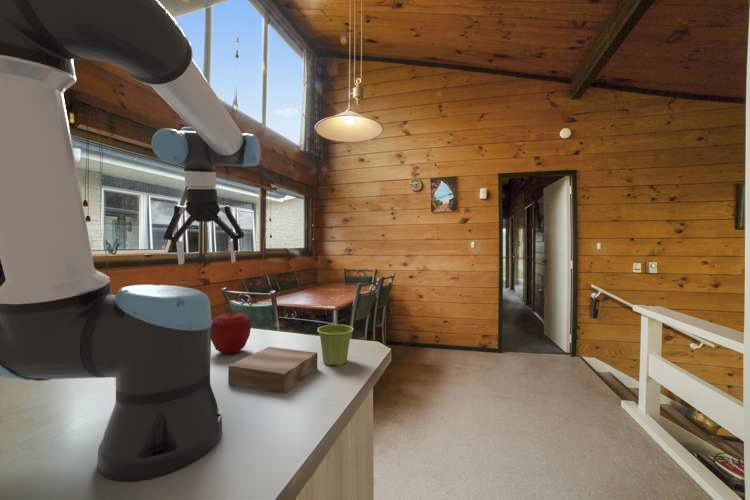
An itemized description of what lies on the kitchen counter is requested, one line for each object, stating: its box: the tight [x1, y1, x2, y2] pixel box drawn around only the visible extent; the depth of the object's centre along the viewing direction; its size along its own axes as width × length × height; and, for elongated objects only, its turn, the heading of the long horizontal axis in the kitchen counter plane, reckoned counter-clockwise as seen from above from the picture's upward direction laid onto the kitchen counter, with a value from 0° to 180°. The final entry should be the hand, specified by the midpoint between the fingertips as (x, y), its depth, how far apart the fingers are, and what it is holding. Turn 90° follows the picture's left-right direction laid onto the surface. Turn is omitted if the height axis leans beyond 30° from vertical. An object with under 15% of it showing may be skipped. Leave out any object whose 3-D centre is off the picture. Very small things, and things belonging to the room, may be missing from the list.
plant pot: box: [316, 324, 354, 366], centre depth 82 cm, size 9×9×9 cm
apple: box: [211, 311, 252, 355], centre depth 89 cm, size 11×11×12 cm
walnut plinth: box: [227, 346, 318, 394], centre depth 72 cm, size 14×14×4 cm
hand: (208, 262), depth 91 cm, fingers open, 13 cm apart
